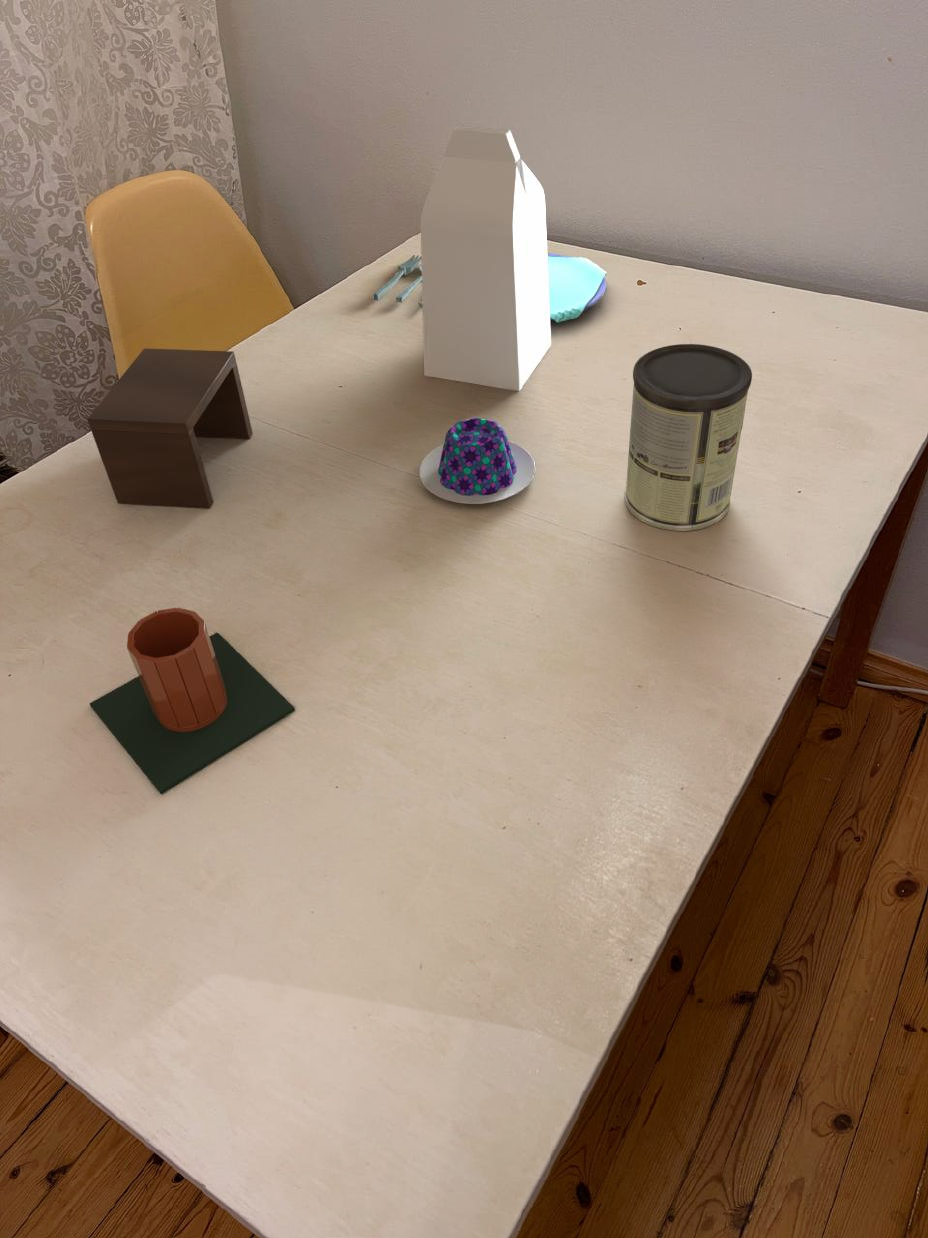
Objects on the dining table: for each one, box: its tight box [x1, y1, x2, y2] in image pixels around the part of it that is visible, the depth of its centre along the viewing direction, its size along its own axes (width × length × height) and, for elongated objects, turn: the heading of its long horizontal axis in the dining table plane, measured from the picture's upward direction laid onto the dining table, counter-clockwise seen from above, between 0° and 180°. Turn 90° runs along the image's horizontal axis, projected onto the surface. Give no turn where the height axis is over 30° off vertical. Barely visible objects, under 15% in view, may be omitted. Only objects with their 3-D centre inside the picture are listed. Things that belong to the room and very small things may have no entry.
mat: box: [89, 631, 296, 795], centre depth 78 cm, size 12×12×1 cm
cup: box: [126, 607, 227, 732], centre depth 75 cm, size 6×6×8 cm
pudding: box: [418, 417, 537, 505], centre depth 98 cm, size 12×12×5 cm
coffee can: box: [624, 343, 753, 532], centre depth 90 cm, size 10×10×14 cm
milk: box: [420, 125, 552, 392], centre depth 108 cm, size 12×12×26 cm
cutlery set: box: [372, 252, 608, 324], centre depth 129 cm, size 20×30×2 cm, turn 69°
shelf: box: [86, 347, 254, 510], centre depth 100 cm, size 14×10×10 cm
